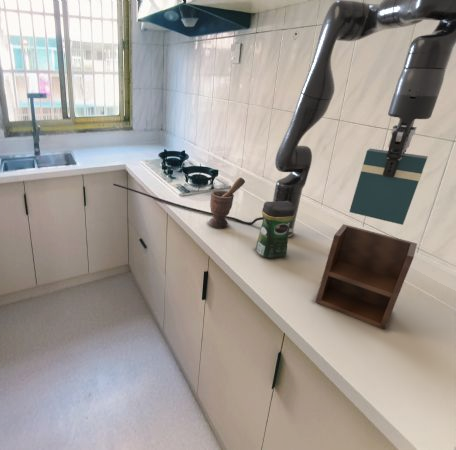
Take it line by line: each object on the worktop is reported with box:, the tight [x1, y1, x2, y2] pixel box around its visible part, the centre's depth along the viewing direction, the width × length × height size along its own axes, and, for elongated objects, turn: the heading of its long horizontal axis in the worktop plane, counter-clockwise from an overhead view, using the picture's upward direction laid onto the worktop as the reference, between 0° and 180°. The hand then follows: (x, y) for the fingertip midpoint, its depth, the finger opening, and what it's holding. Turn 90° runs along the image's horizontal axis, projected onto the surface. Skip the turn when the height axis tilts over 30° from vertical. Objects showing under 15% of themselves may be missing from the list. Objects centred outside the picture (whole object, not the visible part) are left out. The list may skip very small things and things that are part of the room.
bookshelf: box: [315, 223, 418, 331], centre depth 85 cm, size 16×9×20 cm, turn 50°
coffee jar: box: [255, 201, 295, 259], centre depth 111 cm, size 10×8×19 cm
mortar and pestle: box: [208, 177, 246, 229], centre depth 131 cm, size 12×9×20 cm
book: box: [349, 148, 429, 226], centre depth 77 cm, size 11×4×15 cm, turn 51°
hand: (389, 174), depth 76 cm, fingers closed on book, 3 cm apart
